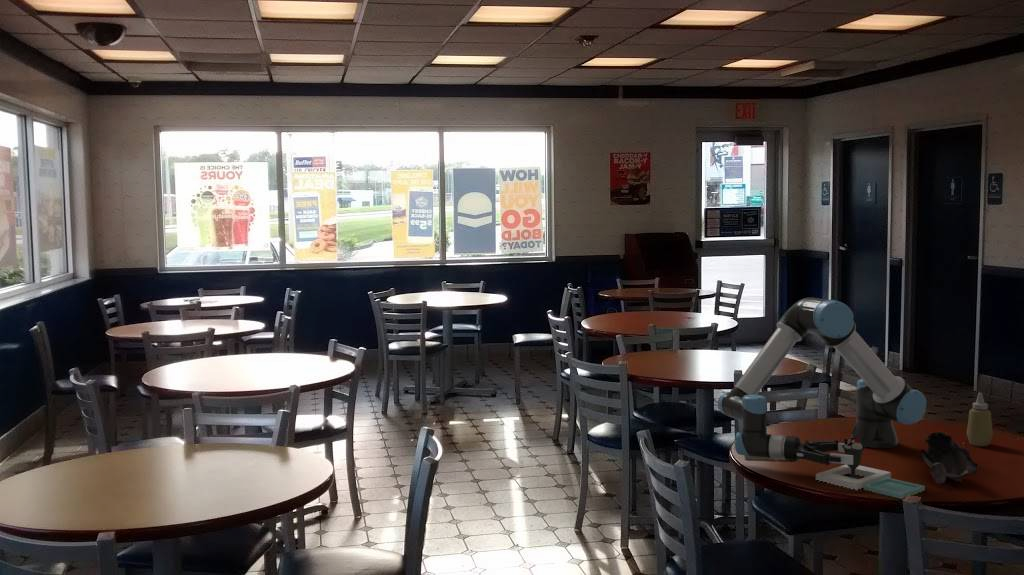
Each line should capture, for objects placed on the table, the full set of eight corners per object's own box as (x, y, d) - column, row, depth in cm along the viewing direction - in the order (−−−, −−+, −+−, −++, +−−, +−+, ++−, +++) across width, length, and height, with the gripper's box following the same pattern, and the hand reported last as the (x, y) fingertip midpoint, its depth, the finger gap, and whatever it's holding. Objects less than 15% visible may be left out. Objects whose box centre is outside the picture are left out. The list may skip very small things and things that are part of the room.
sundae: (866, 483, 283) (867, 433, 282) (843, 482, 285) (843, 433, 284) (863, 476, 290) (863, 428, 289) (840, 476, 291) (840, 428, 290)
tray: (886, 481, 284) (886, 477, 284) (924, 490, 274) (924, 486, 274) (863, 489, 277) (863, 485, 277) (902, 499, 267) (902, 494, 267)
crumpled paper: (984, 485, 276) (956, 470, 296) (979, 436, 275) (951, 424, 295) (936, 490, 276) (910, 475, 296) (931, 441, 276) (905, 428, 296)
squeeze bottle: (967, 446, 322) (968, 394, 321) (965, 441, 330) (966, 390, 328) (993, 448, 319) (994, 396, 318) (991, 442, 327) (992, 391, 325)
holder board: (849, 469, 298) (849, 463, 298) (890, 478, 287) (890, 472, 287) (815, 480, 287) (815, 473, 287) (857, 490, 276) (857, 483, 276)
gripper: (794, 450, 307) (862, 456, 297) (776, 469, 286) (849, 477, 275) (794, 427, 307) (863, 433, 296) (776, 445, 285) (849, 452, 275)
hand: (856, 454), depth 286 cm, fingers open, 13 cm apart
